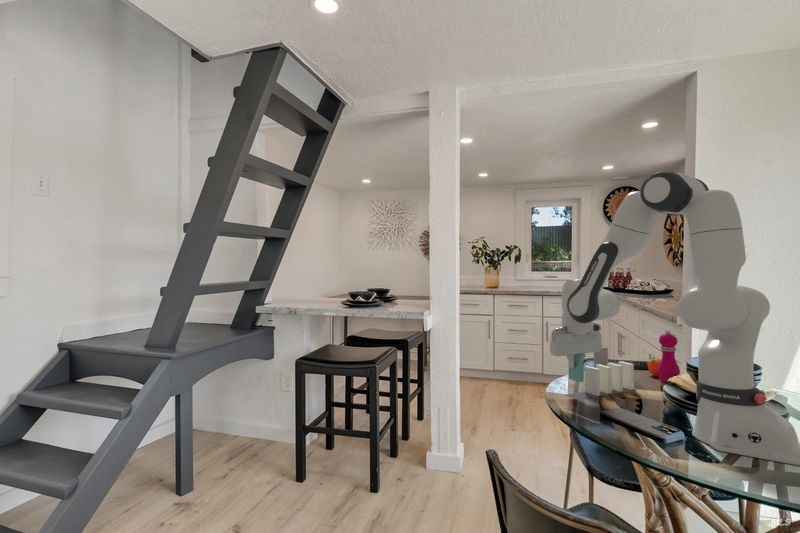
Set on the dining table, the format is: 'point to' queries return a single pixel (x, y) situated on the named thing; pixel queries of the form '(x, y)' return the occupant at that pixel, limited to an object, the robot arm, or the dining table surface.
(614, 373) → the domino
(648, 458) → the dining table surface
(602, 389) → the domino
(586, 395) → the mat
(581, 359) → the domino
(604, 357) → the energy drink
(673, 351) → the pepper mill
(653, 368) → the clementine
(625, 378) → the domino
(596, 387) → the domino
